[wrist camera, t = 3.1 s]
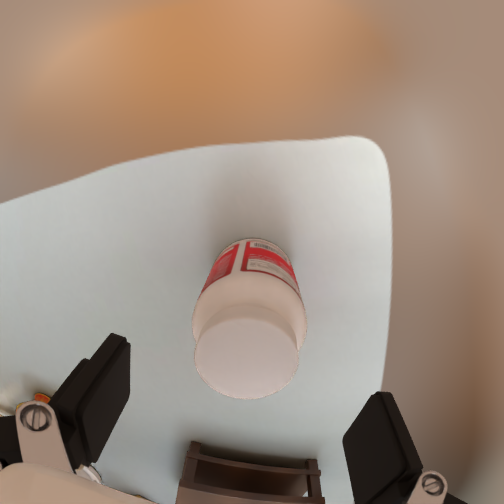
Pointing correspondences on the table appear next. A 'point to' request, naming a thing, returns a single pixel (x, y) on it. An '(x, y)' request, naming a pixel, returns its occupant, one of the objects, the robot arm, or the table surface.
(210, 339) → the pill bottle
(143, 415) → the table surface
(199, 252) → the table surface
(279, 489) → the plate
